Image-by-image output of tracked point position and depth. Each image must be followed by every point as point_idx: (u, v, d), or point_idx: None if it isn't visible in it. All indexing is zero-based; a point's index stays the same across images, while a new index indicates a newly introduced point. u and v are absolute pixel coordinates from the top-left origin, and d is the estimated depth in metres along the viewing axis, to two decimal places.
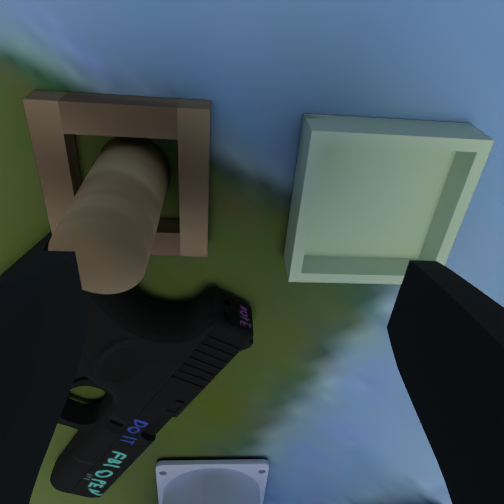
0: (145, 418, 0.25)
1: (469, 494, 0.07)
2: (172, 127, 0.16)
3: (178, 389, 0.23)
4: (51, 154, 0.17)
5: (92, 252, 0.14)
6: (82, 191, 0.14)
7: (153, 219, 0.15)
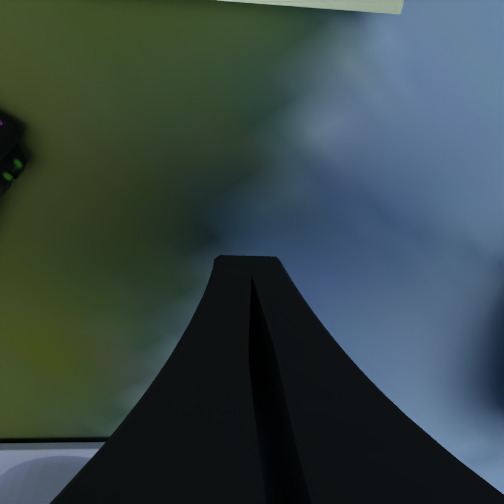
0: None
1: None
2: None
3: None
4: None
5: None
6: None
7: None
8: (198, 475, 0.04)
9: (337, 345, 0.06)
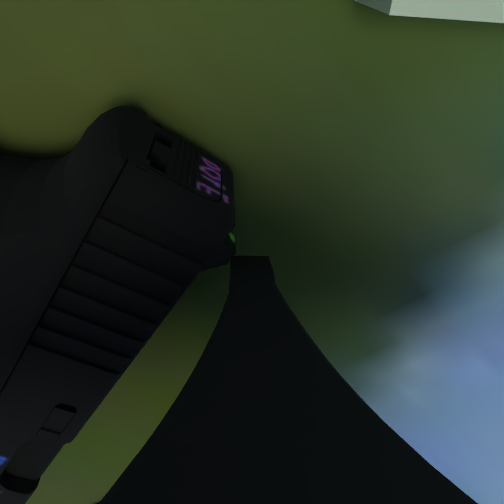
0: None
1: None
2: None
3: (55, 378, 0.09)
4: None
5: None
6: None
7: None
8: (244, 474, 0.04)
9: (314, 345, 0.06)
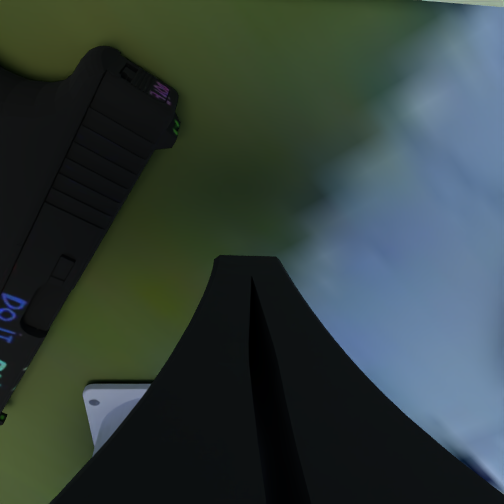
0: (19, 291, 0.16)
1: None
2: None
3: (61, 231, 0.14)
4: None
5: None
6: None
7: None
8: (198, 475, 0.04)
9: (337, 345, 0.06)
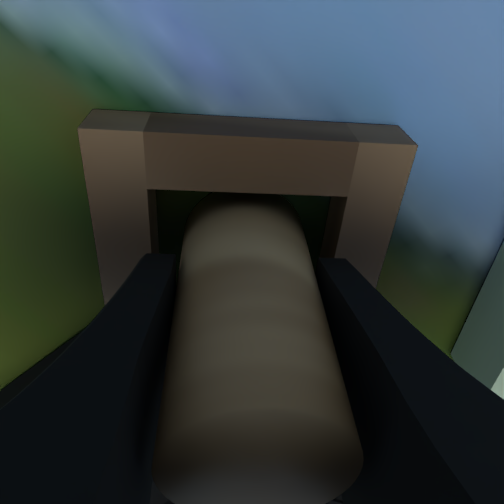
0: None
1: (353, 497, 0.07)
2: (344, 176, 0.09)
3: None
4: (122, 222, 0.09)
5: (257, 460, 0.06)
6: (239, 302, 0.07)
7: None
8: (33, 478, 0.04)
9: (435, 346, 0.07)
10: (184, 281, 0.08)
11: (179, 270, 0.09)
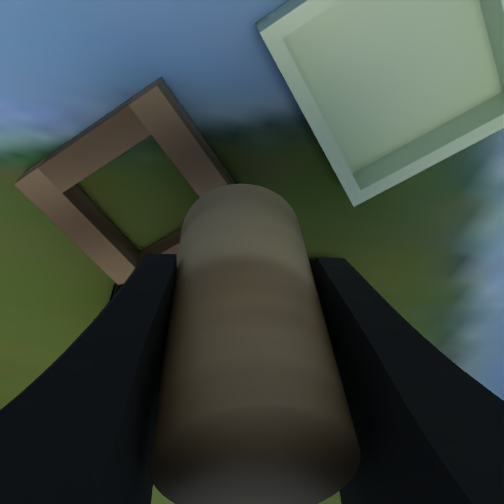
0: None
1: (351, 497, 0.07)
2: (138, 126, 0.15)
3: None
4: (67, 216, 0.17)
5: (253, 458, 0.06)
6: (235, 300, 0.07)
7: None
8: (34, 478, 0.04)
9: (433, 346, 0.07)
10: (181, 280, 0.08)
11: None
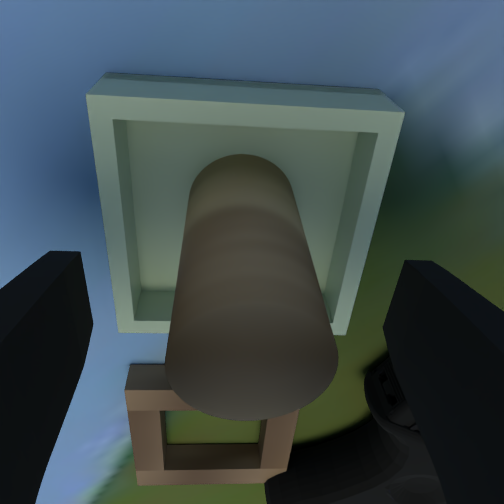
0: None
1: (463, 494, 0.07)
2: (147, 413, 0.17)
3: None
4: (183, 477, 0.19)
5: (250, 355, 0.07)
6: (237, 236, 0.08)
7: None
8: None
9: None
10: (190, 228, 0.10)
11: (185, 224, 0.11)
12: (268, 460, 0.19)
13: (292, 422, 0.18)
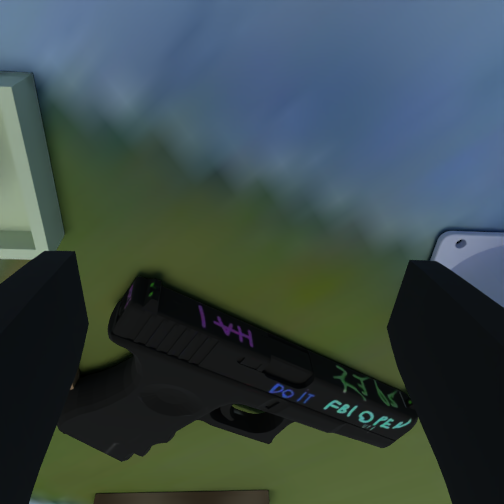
0: (268, 385, 0.23)
1: (469, 494, 0.07)
2: None
3: (219, 361, 0.22)
4: None
5: None
6: None
7: None
8: None
9: None
10: None
11: None
12: None
13: None
